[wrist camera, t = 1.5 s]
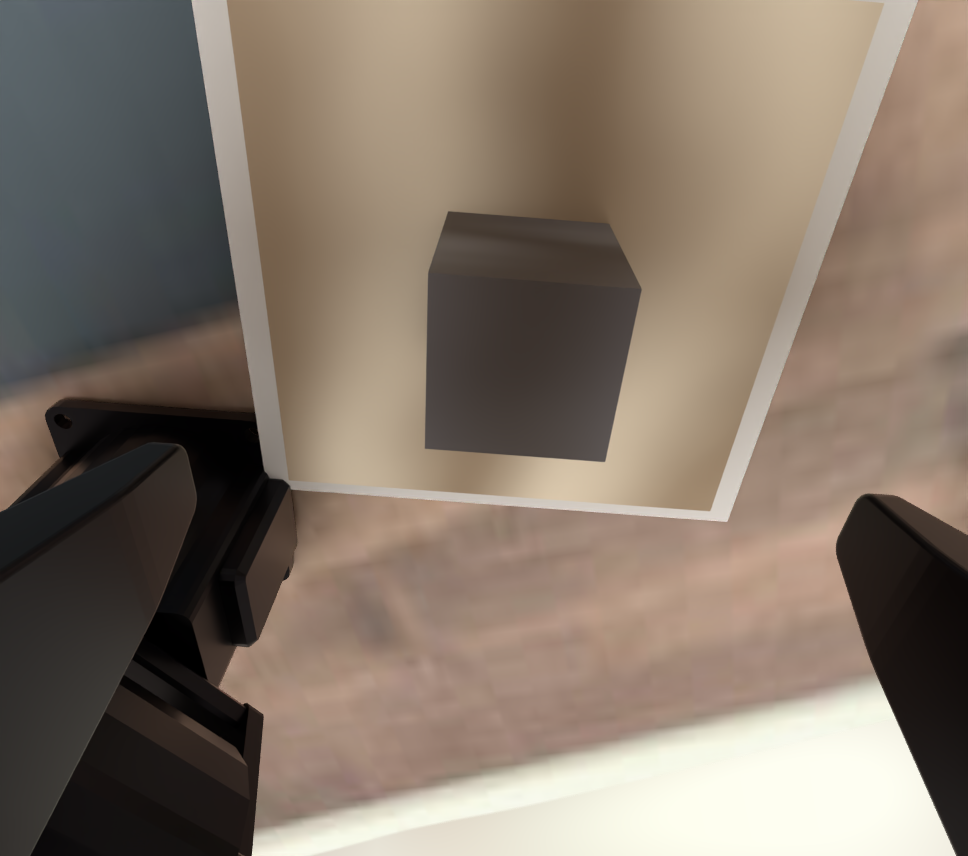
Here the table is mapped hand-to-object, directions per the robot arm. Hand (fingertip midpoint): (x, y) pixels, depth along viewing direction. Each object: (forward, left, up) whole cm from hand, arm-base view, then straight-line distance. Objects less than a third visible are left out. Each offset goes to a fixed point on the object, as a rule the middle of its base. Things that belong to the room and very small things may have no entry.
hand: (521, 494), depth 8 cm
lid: (0, 0, -8) cm, 8 cm away
